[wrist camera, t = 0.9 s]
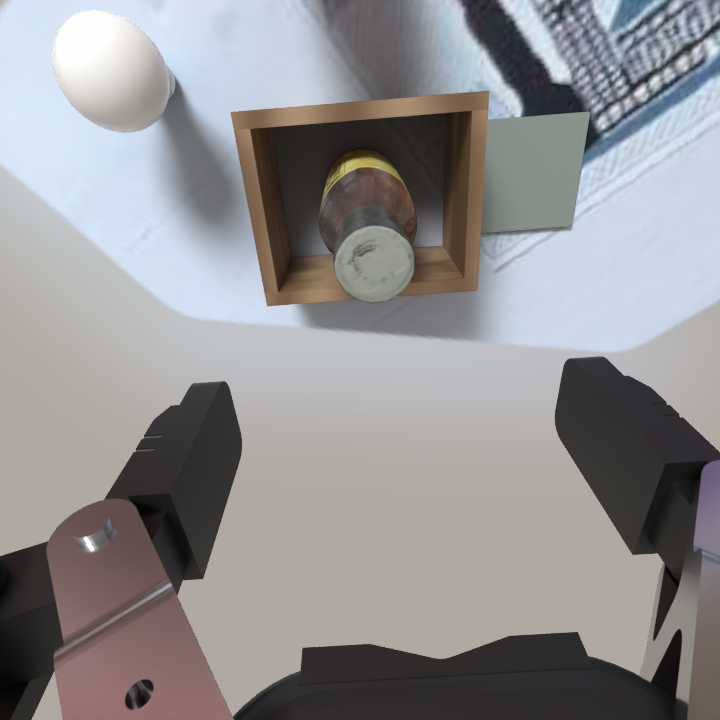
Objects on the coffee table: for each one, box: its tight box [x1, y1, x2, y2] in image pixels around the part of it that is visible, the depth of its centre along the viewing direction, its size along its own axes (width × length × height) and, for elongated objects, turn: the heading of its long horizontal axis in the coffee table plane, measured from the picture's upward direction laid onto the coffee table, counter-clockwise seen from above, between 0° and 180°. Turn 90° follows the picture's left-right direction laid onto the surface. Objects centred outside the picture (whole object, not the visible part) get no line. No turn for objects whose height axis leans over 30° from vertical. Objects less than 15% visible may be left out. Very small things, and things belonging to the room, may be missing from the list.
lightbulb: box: [52, 10, 175, 133], centre depth 30 cm, size 6×6×11 cm
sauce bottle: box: [319, 148, 417, 303], centre depth 30 cm, size 6×6×20 cm
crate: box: [231, 91, 489, 306], centre depth 35 cm, size 16×13×9 cm
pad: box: [481, 112, 590, 233], centre depth 38 cm, size 9×9×1 cm
